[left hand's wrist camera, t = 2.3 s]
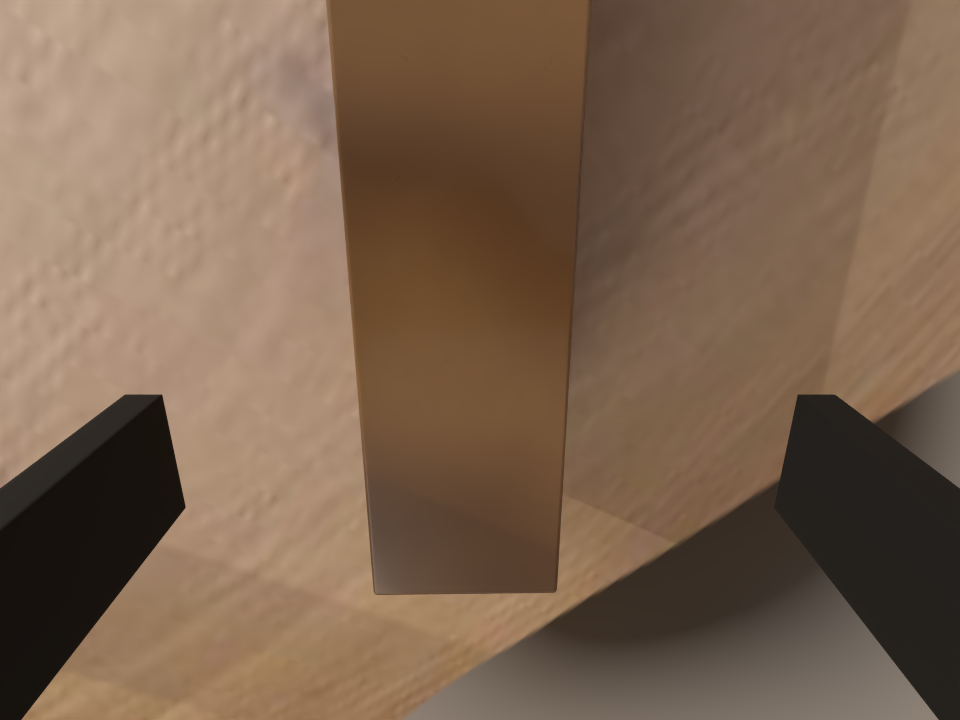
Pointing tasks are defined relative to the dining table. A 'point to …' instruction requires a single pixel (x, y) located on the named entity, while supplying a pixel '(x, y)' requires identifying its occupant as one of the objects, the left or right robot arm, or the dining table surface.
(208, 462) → the dining table surface
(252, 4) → the dining table surface
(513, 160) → the bar
